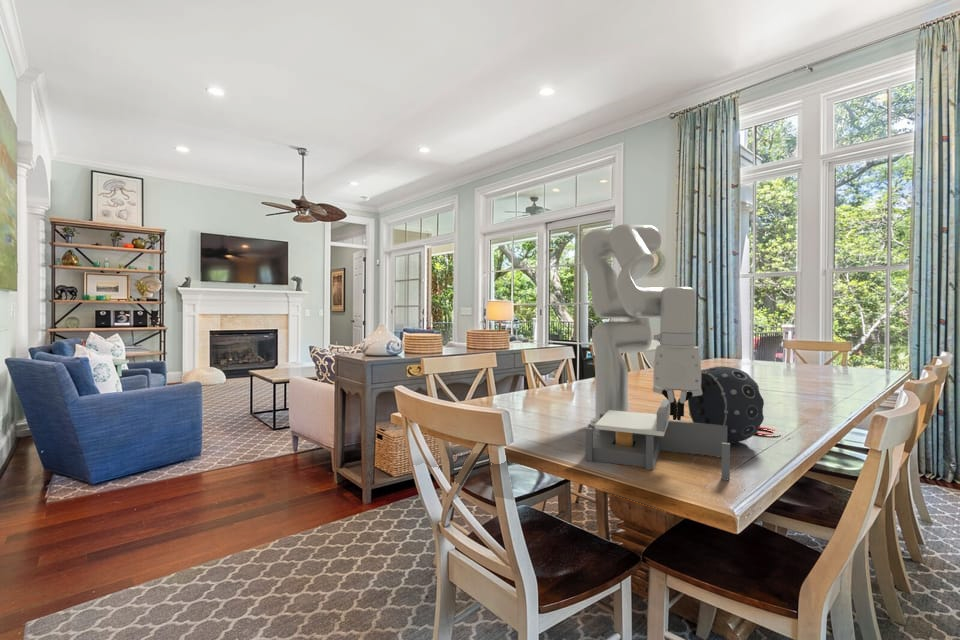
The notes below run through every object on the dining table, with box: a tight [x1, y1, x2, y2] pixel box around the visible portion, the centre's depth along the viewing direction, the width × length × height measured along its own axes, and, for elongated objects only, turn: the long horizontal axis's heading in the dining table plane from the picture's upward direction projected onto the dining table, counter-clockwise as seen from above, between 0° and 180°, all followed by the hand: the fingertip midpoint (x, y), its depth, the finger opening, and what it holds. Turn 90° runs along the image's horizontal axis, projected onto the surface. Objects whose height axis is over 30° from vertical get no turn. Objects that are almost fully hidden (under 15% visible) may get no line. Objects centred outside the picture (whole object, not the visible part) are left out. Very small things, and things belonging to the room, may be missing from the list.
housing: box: [584, 414, 731, 481], centre depth 112 cm, size 17×30×8 cm, turn 64°
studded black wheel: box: [687, 365, 765, 444], centre depth 126 cm, size 11×20×20 cm, turn 6°
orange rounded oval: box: [616, 431, 633, 447], centre depth 115 cm, size 4×4×7 cm
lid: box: [594, 398, 671, 436], centre depth 114 cm, size 17×15×5 cm
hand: (676, 418), depth 110 cm, fingers closed
